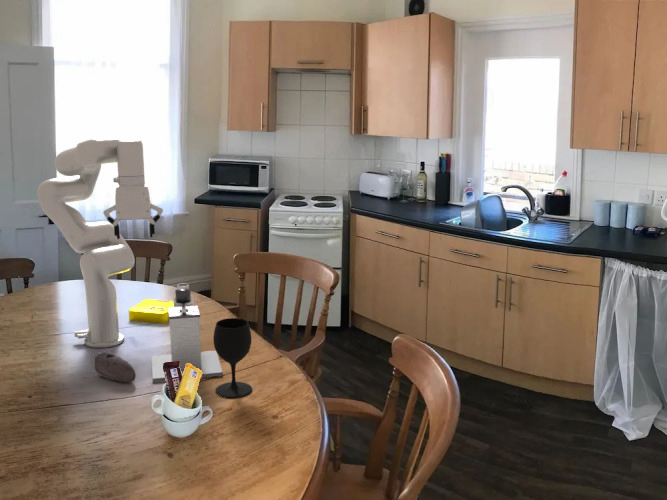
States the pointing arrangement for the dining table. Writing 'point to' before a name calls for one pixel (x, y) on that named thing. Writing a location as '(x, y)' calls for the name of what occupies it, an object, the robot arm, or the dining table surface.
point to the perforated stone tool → (114, 368)
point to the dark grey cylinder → (183, 297)
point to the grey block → (185, 335)
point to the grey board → (208, 367)
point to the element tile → (151, 311)
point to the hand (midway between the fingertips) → (135, 237)
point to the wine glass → (232, 352)
